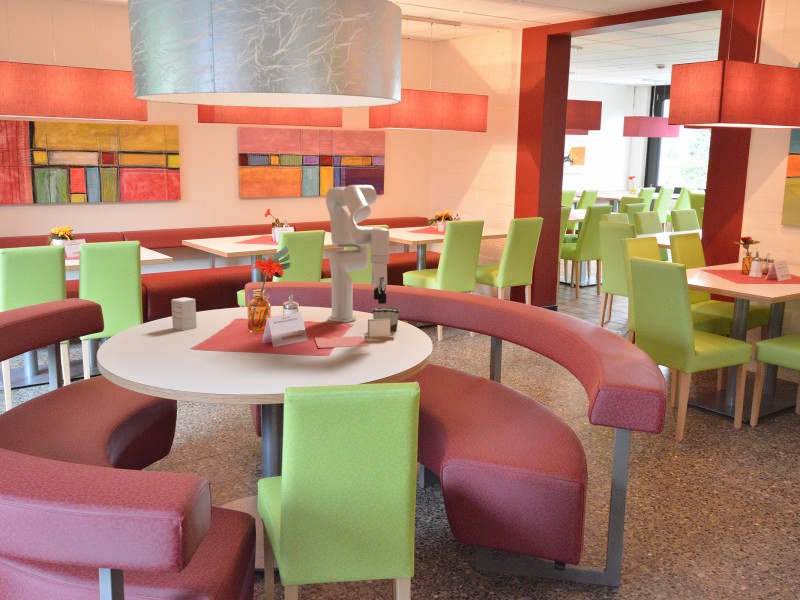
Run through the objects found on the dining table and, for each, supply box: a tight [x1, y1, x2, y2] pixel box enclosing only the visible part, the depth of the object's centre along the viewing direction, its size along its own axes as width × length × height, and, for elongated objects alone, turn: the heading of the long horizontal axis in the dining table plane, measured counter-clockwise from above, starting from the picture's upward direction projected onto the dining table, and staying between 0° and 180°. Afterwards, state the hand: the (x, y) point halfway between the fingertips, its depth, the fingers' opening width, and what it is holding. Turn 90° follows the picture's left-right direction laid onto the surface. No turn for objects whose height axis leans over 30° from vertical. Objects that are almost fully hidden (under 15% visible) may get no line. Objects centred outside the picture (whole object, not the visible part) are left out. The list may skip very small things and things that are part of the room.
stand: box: [364, 333, 395, 342], centre depth 314 cm, size 6×11×2 cm, turn 102°
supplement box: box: [170, 296, 197, 331], centre depth 330 cm, size 7×7×13 cm
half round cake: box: [371, 305, 401, 332], centre depth 330 cm, size 12×6×10 cm, turn 84°
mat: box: [314, 335, 370, 349], centre depth 308 cm, size 16×20×1 cm
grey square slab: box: [367, 318, 392, 337], centre depth 313 cm, size 2×9×8 cm, turn 102°
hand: (379, 301), depth 311 cm, fingers open, 9 cm apart
